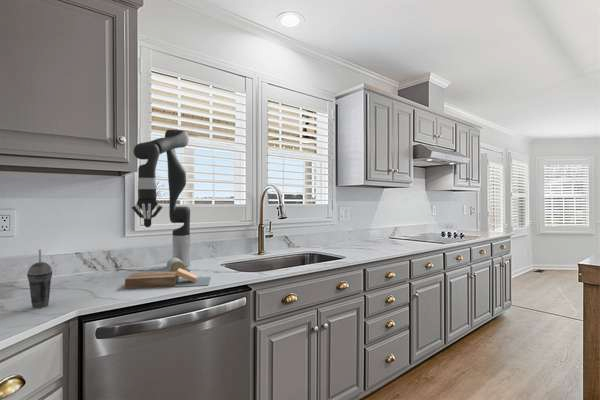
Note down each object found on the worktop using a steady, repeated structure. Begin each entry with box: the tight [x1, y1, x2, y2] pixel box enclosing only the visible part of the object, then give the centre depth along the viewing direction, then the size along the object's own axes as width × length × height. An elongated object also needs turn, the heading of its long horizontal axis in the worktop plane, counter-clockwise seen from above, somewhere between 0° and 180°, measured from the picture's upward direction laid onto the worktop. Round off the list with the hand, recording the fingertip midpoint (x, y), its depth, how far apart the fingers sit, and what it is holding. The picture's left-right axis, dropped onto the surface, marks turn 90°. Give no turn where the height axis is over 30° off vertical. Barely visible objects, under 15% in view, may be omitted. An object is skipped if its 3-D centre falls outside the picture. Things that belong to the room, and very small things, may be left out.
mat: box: [173, 276, 211, 288], centre depth 157 cm, size 16×14×1 cm
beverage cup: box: [26, 249, 53, 309], centre depth 123 cm, size 7×7×20 cm
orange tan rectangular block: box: [175, 268, 199, 283], centre depth 157 cm, size 6×9×2 cm, turn 101°
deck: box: [124, 271, 180, 290], centre depth 154 cm, size 12×20×4 cm, turn 101°
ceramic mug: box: [166, 257, 191, 273], centre depth 175 cm, size 11×8×8 cm
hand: (147, 227), depth 156 cm, fingers closed
